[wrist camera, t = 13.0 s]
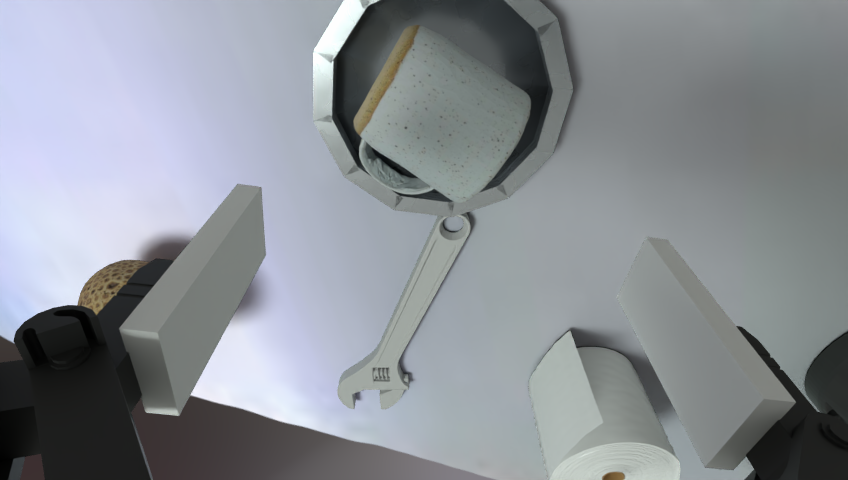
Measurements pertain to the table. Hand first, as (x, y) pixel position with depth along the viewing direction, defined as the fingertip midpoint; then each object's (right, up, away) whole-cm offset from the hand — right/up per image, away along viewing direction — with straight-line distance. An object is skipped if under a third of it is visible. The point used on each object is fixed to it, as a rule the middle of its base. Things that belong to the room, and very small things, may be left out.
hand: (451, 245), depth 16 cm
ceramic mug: (-1, +9, +15) cm, 17 cm away
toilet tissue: (+14, -14, +30) cm, 36 cm away
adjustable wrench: (-2, -7, +26) cm, 27 cm away
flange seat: (0, +10, +14) cm, 17 cm away
